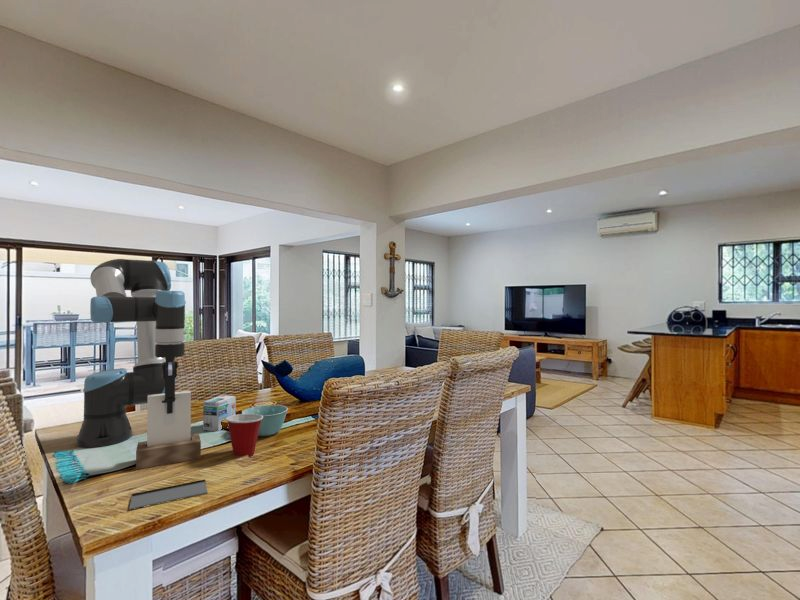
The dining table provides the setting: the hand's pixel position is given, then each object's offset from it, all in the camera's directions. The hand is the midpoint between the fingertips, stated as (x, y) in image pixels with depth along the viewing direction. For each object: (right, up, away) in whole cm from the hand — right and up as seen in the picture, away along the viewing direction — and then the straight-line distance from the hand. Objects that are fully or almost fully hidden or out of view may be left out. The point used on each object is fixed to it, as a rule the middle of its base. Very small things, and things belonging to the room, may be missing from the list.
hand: (169, 422), depth 117 cm
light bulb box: (0, -12, +33) cm, 35 cm away
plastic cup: (+20, -12, +6) cm, 24 cm away
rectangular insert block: (0, -7, 0) cm, 7 cm away
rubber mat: (+8, -12, -14) cm, 20 cm away
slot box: (0, -12, 0) cm, 12 cm away
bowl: (+19, -12, +27) cm, 35 cm away
